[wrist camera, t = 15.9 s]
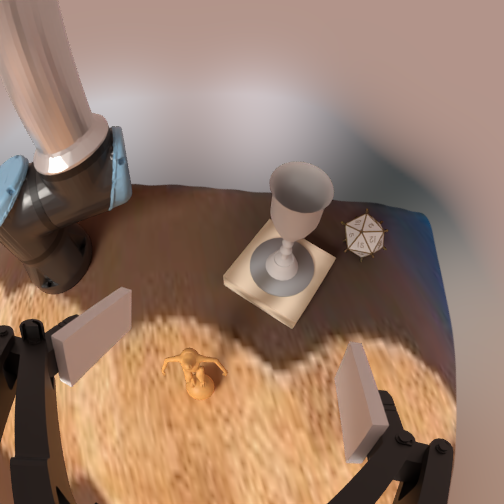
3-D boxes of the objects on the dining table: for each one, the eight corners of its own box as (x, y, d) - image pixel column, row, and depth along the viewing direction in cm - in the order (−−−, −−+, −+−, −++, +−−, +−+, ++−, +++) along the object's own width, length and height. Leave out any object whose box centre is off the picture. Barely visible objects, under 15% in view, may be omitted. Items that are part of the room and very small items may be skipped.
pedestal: (224, 284, 47) (222, 274, 44) (267, 230, 53) (269, 217, 50) (292, 329, 44) (296, 321, 41) (330, 267, 50) (336, 256, 46)
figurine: (174, 399, 38) (150, 396, 28) (174, 361, 41) (151, 344, 30) (231, 399, 38) (226, 398, 28) (229, 360, 41) (224, 345, 31)
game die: (345, 249, 56) (349, 199, 52) (386, 257, 52) (393, 206, 48) (332, 266, 49) (336, 210, 45) (379, 277, 45) (388, 218, 41)
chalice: (261, 242, 47) (271, 158, 31) (304, 247, 47) (331, 165, 31) (257, 285, 43) (266, 209, 28) (303, 289, 43) (336, 217, 28)
